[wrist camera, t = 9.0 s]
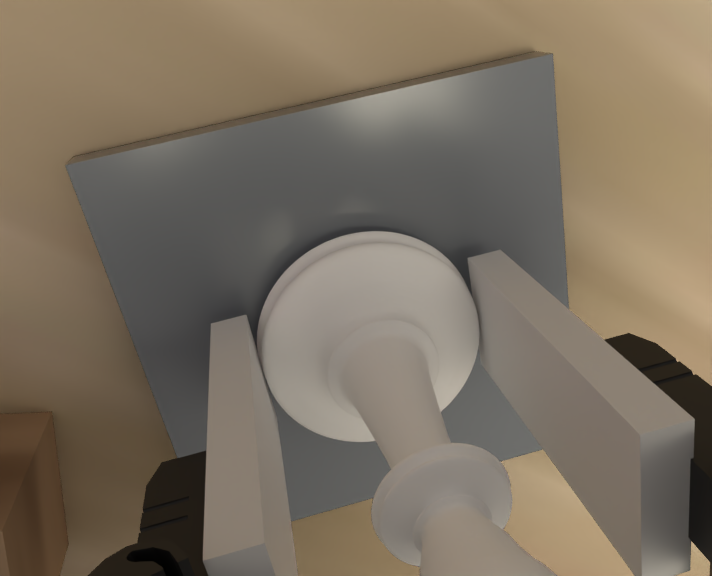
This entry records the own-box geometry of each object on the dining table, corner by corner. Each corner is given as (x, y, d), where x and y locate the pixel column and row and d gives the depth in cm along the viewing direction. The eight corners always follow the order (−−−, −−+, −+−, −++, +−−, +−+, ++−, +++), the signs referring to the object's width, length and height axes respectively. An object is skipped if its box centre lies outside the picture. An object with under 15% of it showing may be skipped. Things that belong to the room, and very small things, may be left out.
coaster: (211, 522, 18) (210, 544, 17) (73, 156, 13) (65, 165, 13) (562, 422, 18) (577, 439, 18) (536, 51, 14) (553, 53, 14)
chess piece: (420, 447, 16) (668, 996, 7) (227, 401, 15) (233, 1021, 6) (508, 269, 15) (956, 679, 6) (302, 198, 13) (471, 604, 4)
